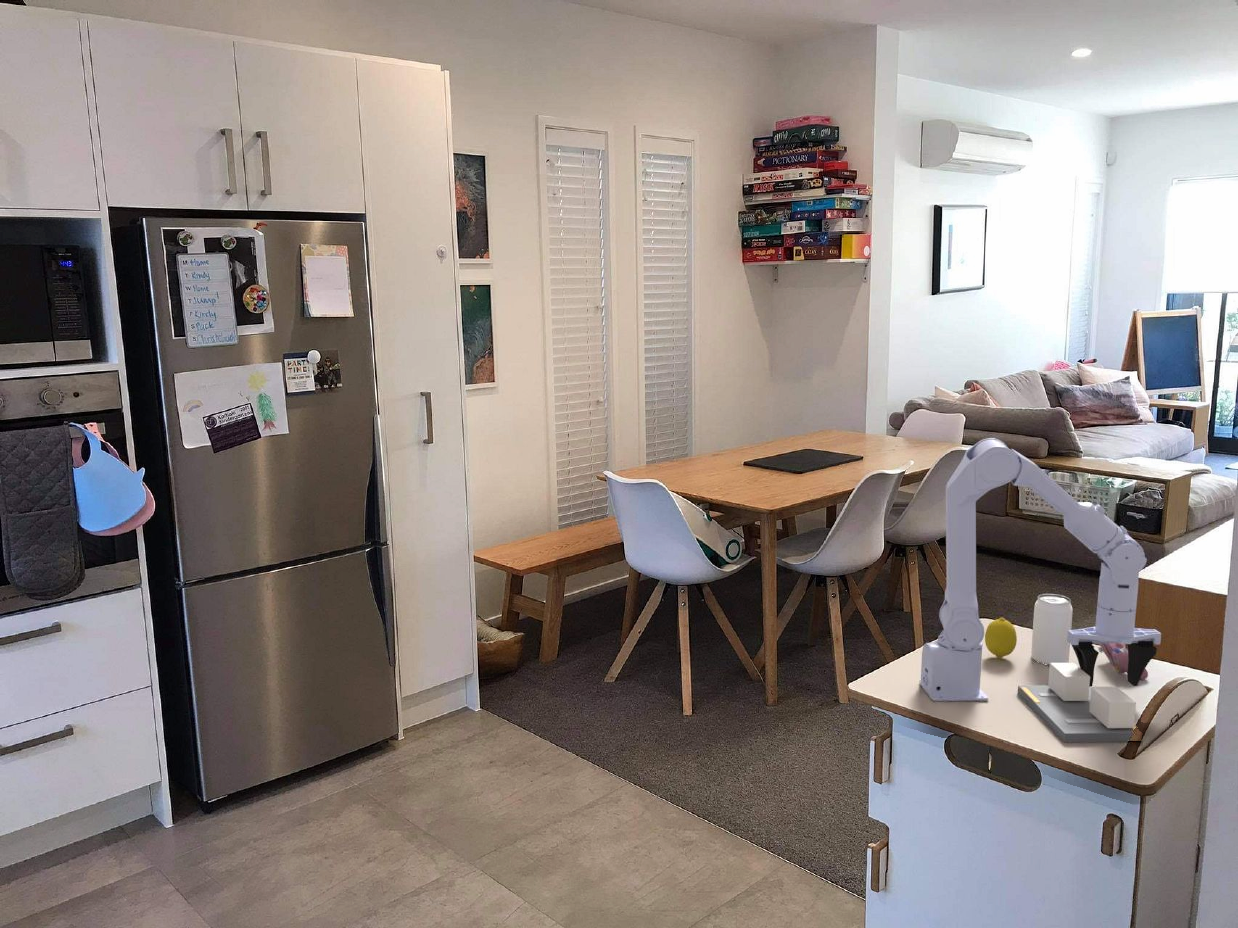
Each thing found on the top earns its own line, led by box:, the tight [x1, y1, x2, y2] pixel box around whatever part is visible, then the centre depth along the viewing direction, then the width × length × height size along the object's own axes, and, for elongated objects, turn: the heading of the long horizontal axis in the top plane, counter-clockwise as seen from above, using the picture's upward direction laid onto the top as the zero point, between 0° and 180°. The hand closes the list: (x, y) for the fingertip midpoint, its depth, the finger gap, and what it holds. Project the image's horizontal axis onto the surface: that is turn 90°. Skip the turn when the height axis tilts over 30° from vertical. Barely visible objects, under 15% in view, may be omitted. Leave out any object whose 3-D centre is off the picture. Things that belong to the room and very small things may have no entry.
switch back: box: [1047, 662, 1090, 701], centre depth 163 cm, size 4×6×4 cm, turn 0°
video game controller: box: [1097, 643, 1149, 681], centre depth 177 cm, size 10×5×7 cm, turn 175°
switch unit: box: [1017, 684, 1137, 743], centre depth 159 cm, size 12×18×2 cm, turn 0°
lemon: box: [984, 617, 1018, 659], centre depth 183 cm, size 6×6×8 cm
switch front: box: [1089, 686, 1137, 728], centre depth 153 cm, size 4×6×4 cm, turn 0°
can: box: [1030, 593, 1073, 666], centre depth 181 cm, size 6×6×12 cm
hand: (1109, 683), depth 163 cm, fingers open, 7 cm apart
